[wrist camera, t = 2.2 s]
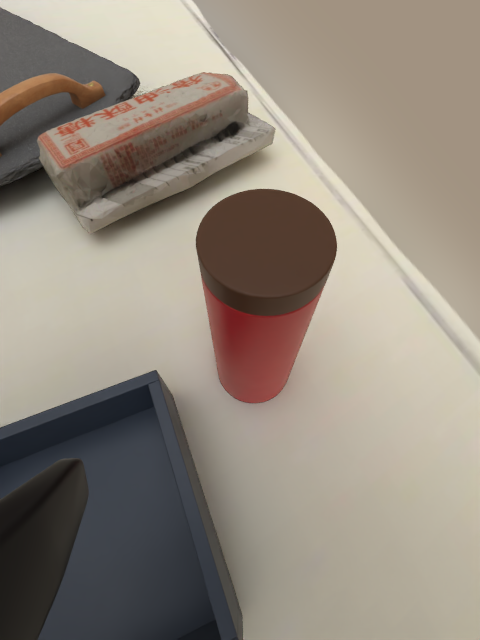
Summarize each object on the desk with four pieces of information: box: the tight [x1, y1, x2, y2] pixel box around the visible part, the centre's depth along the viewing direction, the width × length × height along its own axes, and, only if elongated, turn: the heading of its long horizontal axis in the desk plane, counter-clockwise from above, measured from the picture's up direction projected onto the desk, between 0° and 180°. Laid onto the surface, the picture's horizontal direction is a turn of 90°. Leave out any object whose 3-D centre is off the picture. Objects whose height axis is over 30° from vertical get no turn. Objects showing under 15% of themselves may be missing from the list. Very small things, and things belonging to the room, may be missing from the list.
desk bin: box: [0, 370, 243, 640], centre depth 16 cm, size 12×12×5 cm
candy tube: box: [196, 189, 337, 403], centre depth 17 cm, size 5×5×12 cm
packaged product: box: [37, 72, 275, 234], centre depth 28 cm, size 18×5×10 cm
